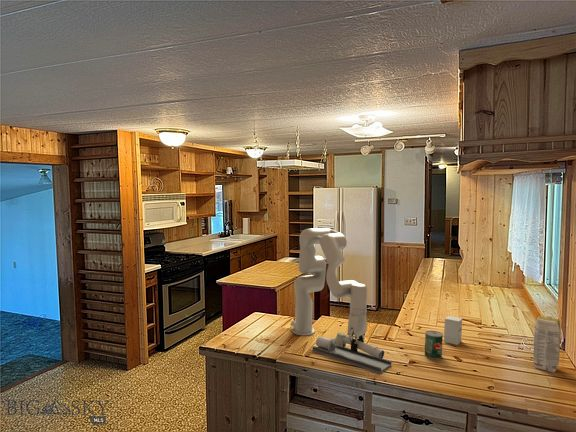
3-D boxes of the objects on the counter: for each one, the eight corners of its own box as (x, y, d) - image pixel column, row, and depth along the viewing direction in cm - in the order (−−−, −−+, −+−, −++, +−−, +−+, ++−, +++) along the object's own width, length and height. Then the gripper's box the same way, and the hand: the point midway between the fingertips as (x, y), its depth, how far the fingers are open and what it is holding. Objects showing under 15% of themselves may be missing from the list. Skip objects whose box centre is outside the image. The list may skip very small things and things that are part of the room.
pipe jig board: (312, 351, 189) (312, 337, 188) (325, 345, 197) (325, 332, 197) (380, 374, 165) (380, 358, 165) (391, 365, 174) (391, 351, 173)
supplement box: (458, 345, 200) (459, 321, 199) (443, 342, 205) (444, 318, 204) (461, 341, 206) (462, 318, 205) (447, 338, 210) (448, 315, 210)
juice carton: (559, 368, 174) (562, 316, 173) (556, 374, 168) (559, 320, 167) (535, 362, 180) (537, 311, 179) (531, 367, 175) (534, 315, 173)
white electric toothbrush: (380, 352, 168) (333, 330, 184) (377, 366, 169) (331, 343, 185) (385, 348, 172) (339, 327, 188) (383, 362, 173) (337, 340, 189)
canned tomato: (440, 360, 181) (441, 337, 180) (423, 356, 184) (424, 334, 184) (443, 354, 188) (443, 332, 187) (426, 351, 191) (426, 329, 191)
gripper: (360, 305, 187) (359, 342, 188) (341, 313, 174) (340, 352, 175) (374, 308, 182) (373, 346, 183) (355, 316, 169) (354, 357, 170)
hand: (357, 349), depth 179 cm, fingers closed on white electric toothbrush, 4 cm apart
